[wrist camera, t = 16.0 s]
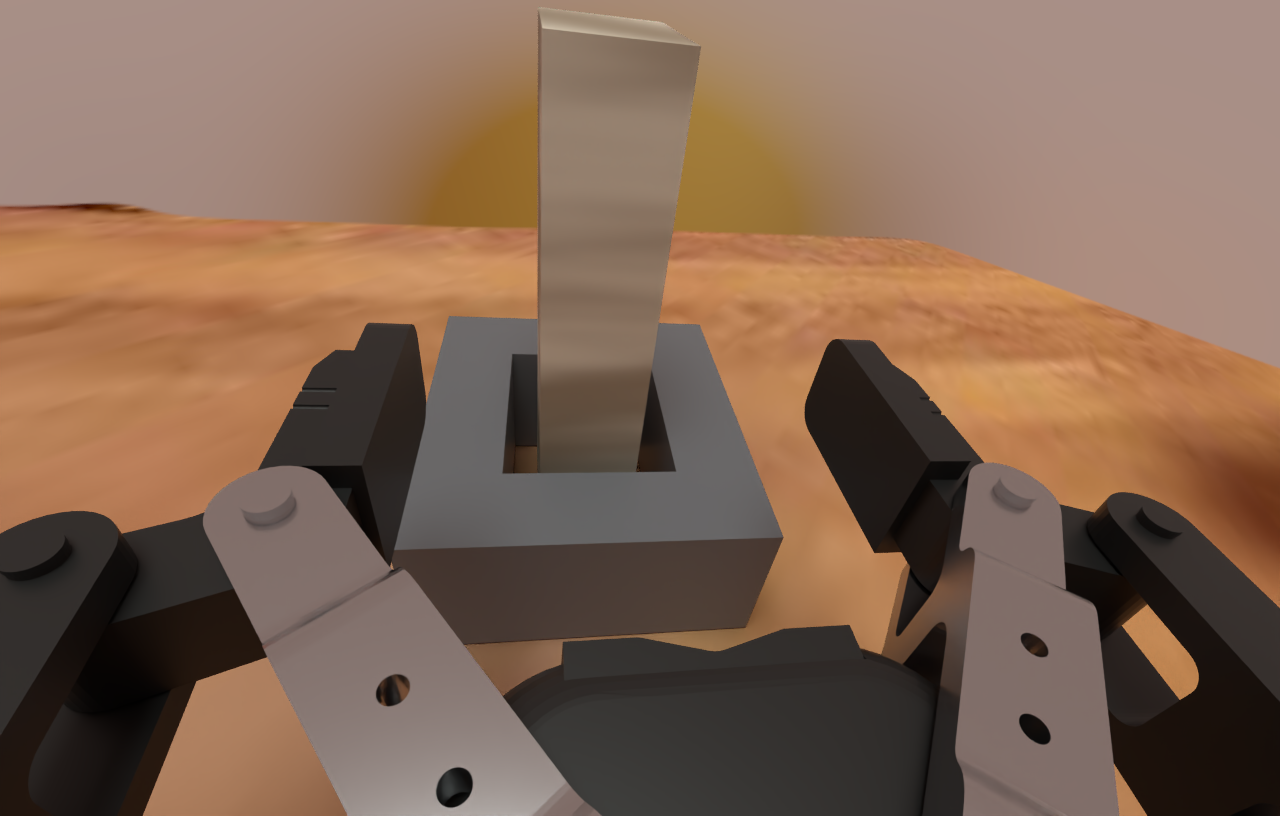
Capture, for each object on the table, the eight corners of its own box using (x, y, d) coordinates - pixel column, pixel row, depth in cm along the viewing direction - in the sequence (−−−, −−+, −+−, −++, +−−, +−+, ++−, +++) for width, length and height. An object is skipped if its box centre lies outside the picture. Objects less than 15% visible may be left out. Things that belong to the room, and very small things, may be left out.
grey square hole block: (745, 627, 18) (783, 537, 15) (414, 647, 16) (388, 550, 14) (682, 408, 26) (699, 324, 24) (458, 406, 25) (449, 316, 22)
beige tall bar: (625, 540, 20) (701, 46, 11) (539, 545, 20) (542, 28, 10) (611, 461, 23) (662, 22, 14) (537, 463, 23) (537, 6, 13)
